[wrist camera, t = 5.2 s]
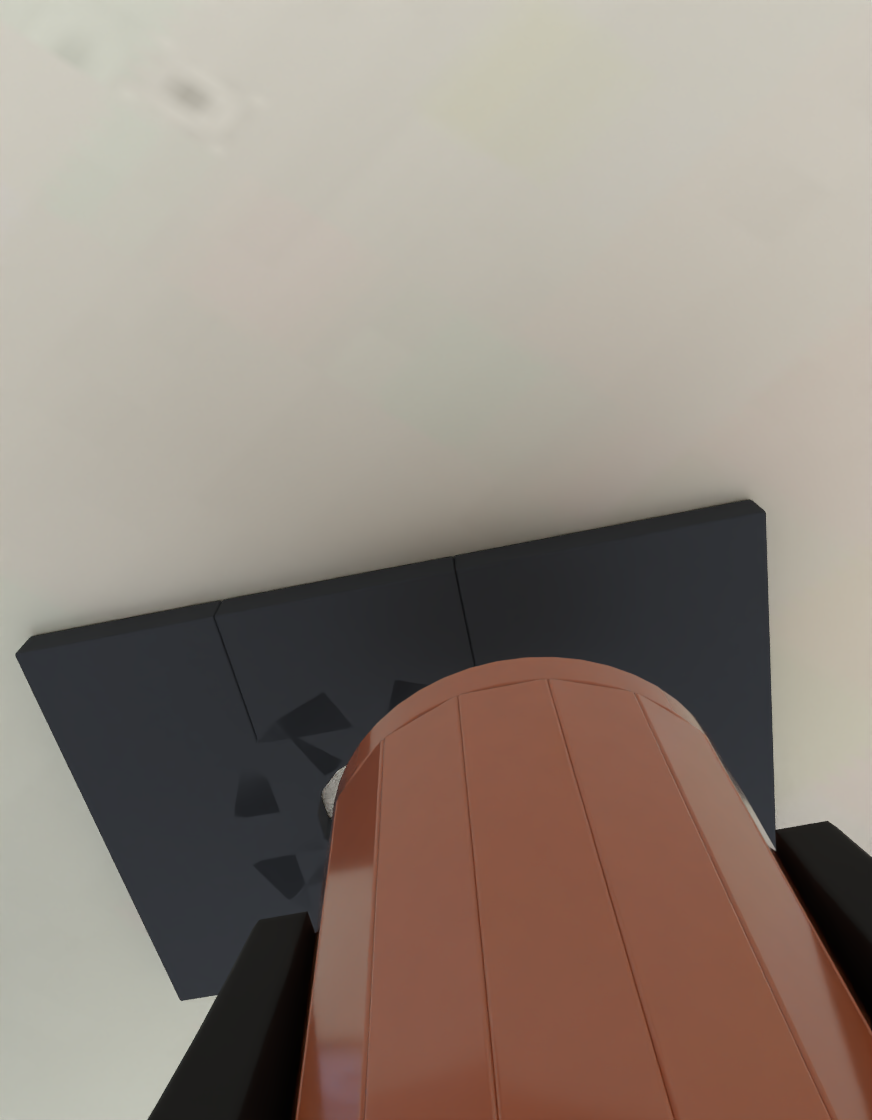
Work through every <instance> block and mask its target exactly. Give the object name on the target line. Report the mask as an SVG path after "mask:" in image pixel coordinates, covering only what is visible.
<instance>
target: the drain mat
mask: <svg viewBox="0 0 872 1120" xmlns="http://www.w3.org/2000/svg"><path fill="white" fill-rule="evenodd" d="M15 656H16V658H17V660H18V662H19V664H20V666H21V668H22V671H23V673H24V675H25V677H26V679H27V681H28V683H29V685H30V687H31V689H32V691H33V694H34V696H35V698H36V700H37V702H38V704H39V706H40V708H41V710H42V712H43V714H44V717H45V719H46V721H47V723H48V725H49V727H50V729H51V731H52V733H53V735H54V737H55V740H56V742H57V744H58V746H59V748H60V750H61V752H62V754H63V756H64V758H65V760H66V763H67V765H68V767H69V769H70V771H71V773H72V775H73V777H74V779H75V781H76V783H77V786H78V788H79V790H80V792H81V794H82V796H83V798H84V800H85V802H86V804H87V806H88V809H89V811H90V813H91V815H92V817H93V819H94V821H95V823H96V825H97V827H98V829H99V832H100V834H101V836H102V838H103V840H104V842H105V844H106V846H107V848H108V850H109V852H110V855H111V857H112V859H113V861H114V863H115V865H116V867H117V869H118V871H119V873H120V875H121V878H122V880H123V882H124V884H125V886H126V888H127V890H128V892H129V894H130V896H131V898H132V901H133V903H134V905H135V907H136V909H137V911H138V913H139V915H140V917H141V919H142V921H143V924H144V926H145V928H146V930H147V932H148V934H149V936H150V938H151V940H152V942H153V944H154V947H155V949H156V951H157V953H158V955H159V957H160V959H161V961H162V963H163V965H164V967H165V970H166V972H167V974H168V976H169V978H170V980H171V982H172V984H173V986H174V988H175V990H176V993H177V995H178V997H179V999H180V1000H181V1001H183V1000H189V999H195V998H202V997H208V996H214V995H218V994H219V992H220V990H221V988H222V986H223V984H224V982H225V981H226V979H227V977H228V975H229V973H230V971H231V969H232V967H233V965H234V963H235V962H236V960H237V958H238V956H239V954H240V952H241V950H242V948H243V946H244V944H245V942H246V940H247V939H248V937H249V935H250V933H251V931H252V929H253V927H254V926H255V925H256V923H257V922H258V921H259V920H260V919H266V918H272V917H278V916H283V915H289V914H295V913H301V912H306V911H307V912H308V914H309V917H310V920H311V923H312V925H313V928H314V931H315V933H316V925H317V918H318V910H319V903H320V895H321V888H322V880H323V873H324V865H325V859H326V853H327V848H328V842H329V837H330V831H331V823H332V820H331V819H330V818H329V817H328V816H327V813H326V810H325V807H324V804H323V801H322V797H321V795H322V790H323V789H324V787H325V786H326V785H327V783H328V782H329V781H330V780H331V778H332V777H333V776H334V774H335V773H336V772H337V770H339V769H340V768H342V767H344V766H346V765H347V764H348V762H349V760H350V758H351V757H352V755H353V754H354V752H355V750H356V749H357V747H358V746H359V744H360V743H361V741H362V740H363V739H364V738H365V736H366V735H367V734H368V733H369V732H370V731H371V730H372V728H373V727H374V726H375V725H376V724H377V723H378V722H379V721H380V720H381V719H382V718H383V717H384V716H385V715H387V714H388V713H389V712H390V711H391V710H392V709H393V708H394V707H396V706H397V705H398V704H399V703H401V702H402V701H404V700H405V699H407V698H408V697H410V696H411V695H413V694H414V693H416V692H417V691H419V690H420V689H422V688H424V687H426V686H428V685H430V684H432V683H434V682H436V681H438V680H440V679H442V678H444V677H446V676H449V675H452V674H454V673H457V672H460V671H462V670H465V669H468V668H471V667H475V666H479V665H483V664H487V663H491V662H495V661H501V660H508V659H516V658H523V657H562V658H572V659H582V660H586V661H591V662H595V663H600V664H604V665H609V666H611V667H614V668H617V669H620V670H623V671H626V672H628V673H631V674H634V675H636V676H638V677H640V678H642V679H644V680H646V681H648V682H650V683H652V684H654V685H656V686H657V687H659V688H660V689H662V690H663V691H665V692H666V693H667V694H669V695H670V696H672V697H673V698H675V699H676V700H677V701H678V702H679V703H681V704H682V705H683V706H684V707H685V708H686V709H687V710H688V711H689V712H690V713H691V714H692V715H693V716H694V717H695V718H696V719H697V721H698V722H699V723H700V725H701V726H702V727H703V729H704V730H705V731H706V732H707V734H708V735H709V737H710V739H711V741H712V742H713V744H714V746H715V748H716V749H717V751H718V753H719V755H720V756H721V758H722V760H723V762H724V763H725V765H726V766H727V768H728V770H729V771H730V773H731V774H732V776H733V777H734V779H735V780H736V782H737V783H738V785H739V786H740V788H741V790H742V791H743V793H744V795H745V797H746V798H747V800H748V802H749V804H750V806H751V807H752V809H753V811H754V813H755V814H756V816H757V818H758V820H759V821H760V823H761V825H762V827H763V828H764V830H765V832H766V834H767V835H768V837H769V839H770V841H771V842H772V844H773V846H774V848H775V849H776V835H775V799H774V766H773V734H772V701H771V669H770V637H769V604H768V572H767V540H766V513H765V511H764V510H763V509H762V508H760V507H759V506H758V505H757V504H756V503H755V502H754V501H752V500H745V501H740V502H735V503H729V504H724V505H719V506H714V507H708V508H703V509H698V510H693V511H688V512H682V513H677V514H672V515H667V516H661V517H656V518H651V519H646V520H640V521H635V522H630V523H625V524H620V525H614V526H609V527H604V528H599V529H593V530H588V531H583V532H578V533H572V534H567V535H562V536H557V537H552V538H546V539H541V540H536V541H531V542H525V543H520V544H515V545H510V546H504V547H499V548H494V549H489V550H483V551H478V552H473V553H468V554H463V555H457V556H455V557H454V558H453V557H446V558H441V559H436V560H430V561H425V562H420V563H415V564H409V565H404V566H399V567H394V568H389V569H383V570H378V571H373V572H368V573H362V574H357V575H352V576H347V577H341V578H336V579H331V580H326V581H321V582H315V583H310V584H305V585H300V586H294V587H289V588H284V589H279V590H273V591H268V592H263V593H258V594H252V595H247V596H242V597H237V598H232V599H226V600H223V601H222V602H221V601H215V602H210V603H205V604H200V605H194V606H189V607H184V608H179V609H173V610H168V611H163V612H158V613H153V614H147V615H142V616H137V617H132V618H126V619H121V620H116V621H111V622H105V623H100V624H95V625H90V626H85V627H79V628H74V629H69V630H64V631H58V632H53V633H48V634H43V635H37V636H32V637H30V638H29V639H28V640H27V641H26V643H25V644H24V645H23V646H22V647H21V648H20V649H19V650H18V651H17V653H16V654H15Z"/></svg>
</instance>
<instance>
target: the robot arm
mask: <svg viewBox="0 0 872 1120" xmlns="http://www.w3.org/2000/svg"><path fill="white" fill-rule="evenodd" d="M775 835H776V852H777V853H778V855H779V857H780V859H781V860H782V862H783V864H784V866H785V867H786V869H787V871H788V873H789V875H790V876H791V878H792V880H793V882H794V883H795V885H796V887H797V889H798V890H799V892H800V894H801V896H802V897H803V899H804V901H805V903H806V904H807V906H808V908H809V910H810V911H811V913H812V915H813V917H814V918H815V920H816V922H817V924H818V925H819V927H820V929H821V930H822V932H823V934H824V936H825V937H826V939H827V941H828V942H829V944H830V946H831V948H832V949H833V951H834V953H835V955H836V956H837V958H838V960H839V962H840V963H841V965H842V967H843V969H844V970H845V972H846V974H847V976H848V977H849V979H850V981H851V983H852V984H853V986H854V988H855V990H856V991H857V993H858V995H859V997H860V998H861V1000H862V1002H863V1004H864V1005H865V1007H866V1009H867V1011H868V1012H869V1014H870V1016H871V1018H872V857H871V856H870V855H868V854H867V853H866V852H865V851H864V850H863V849H861V848H860V847H859V846H858V845H857V844H856V843H854V842H853V841H852V840H851V839H850V838H849V837H847V836H846V835H845V834H844V833H843V832H842V831H841V830H839V829H838V828H837V827H836V826H834V825H833V824H831V823H830V822H828V821H825V822H819V823H813V824H807V825H801V826H796V827H790V828H784V829H778V830H775ZM314 941H315V931H314V928H313V925H312V923H311V920H310V917H309V914H308V912H307V911H306V912H301V913H295V914H289V915H283V916H278V917H272V918H266V919H260V920H259V921H258V922H257V923H256V925H255V926H254V927H253V929H252V931H251V933H250V935H249V937H248V939H247V940H246V942H245V944H244V946H243V948H242V950H241V952H240V954H239V956H238V958H237V960H236V962H235V963H234V965H233V967H232V969H231V971H230V973H229V975H228V977H227V979H226V981H225V982H224V984H223V986H222V988H221V990H220V992H219V994H218V996H217V998H216V999H215V1001H214V1003H213V1005H212V1007H211V1009H210V1010H209V1012H208V1014H207V1016H206V1018H205V1020H204V1022H203V1023H202V1025H201V1027H200V1029H199V1031H198V1033H197V1034H196V1036H195V1038H194V1040H193V1042H192V1043H191V1045H190V1047H189V1049H188V1050H187V1052H186V1054H185V1056H184V1057H183V1059H182V1061H181V1063H180V1064H179V1066H178V1068H177V1070H176V1071H175V1073H174V1075H173V1077H172V1078H171V1080H170V1082H169V1084H168V1085H167V1087H166V1089H165V1091H164V1092H163V1094H162V1096H161V1098H160V1099H159V1101H158V1103H157V1105H156V1106H155V1108H154V1110H153V1111H152V1113H151V1115H150V1116H149V1118H148V1120H291V1113H292V1105H293V1098H294V1090H295V1083H296V1075H297V1068H298V1060H299V1053H300V1045H301V1038H302V1030H303V1023H304V1015H305V1008H306V1001H307V993H308V986H309V978H310V971H311V963H312V956H313V948H314Z"/></svg>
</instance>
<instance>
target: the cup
mask: <svg viewBox="0 0 872 1120" xmlns="http://www.w3.org/2000/svg"><path fill="white" fill-rule="evenodd" d="M291 1120H872V1018H871V1016H870V1014H869V1012H868V1011H867V1009H866V1007H865V1005H864V1004H863V1002H862V1000H861V998H860V997H859V995H858V993H857V991H856V990H855V988H854V986H853V984H852V983H851V981H850V979H849V977H848V976H847V974H846V972H845V970H844V969H843V967H842V965H841V963H840V962H839V960H838V958H837V956H836V955H835V953H834V951H833V949H832V948H831V946H830V944H829V942H828V941H827V939H826V937H825V936H824V934H823V932H822V930H821V929H820V927H819V925H818V924H817V922H816V920H815V918H814V917H813V915H812V913H811V911H810V910H809V908H808V906H807V904H806V903H805V901H804V899H803V897H802V896H801V894H800V892H799V890H798V889H797V887H796V885H795V883H794V882H793V880H792V878H791V876H790V875H789V873H788V871H787V869H786V867H785V866H784V864H783V862H782V860H781V859H780V857H779V855H778V853H777V852H776V849H775V848H774V846H773V844H772V842H771V841H770V839H769V837H768V835H767V834H766V832H765V830H764V828H763V827H762V825H761V823H760V821H759V820H758V818H757V816H756V814H755V813H754V811H753V809H752V807H751V806H750V804H749V802H748V800H747V798H746V797H745V795H744V793H743V791H742V790H741V788H740V786H739V785H738V783H737V782H736V780H735V779H734V777H733V776H732V774H731V773H730V771H729V770H728V768H727V766H726V765H725V763H724V762H723V760H722V758H721V756H720V755H719V753H718V751H717V749H716V748H715V746H714V744H713V742H712V741H711V739H710V737H709V735H708V734H707V732H706V731H705V730H704V729H703V727H702V726H701V725H700V723H699V722H698V721H697V719H696V718H695V717H694V716H693V715H692V714H691V713H690V712H689V711H688V710H687V709H686V708H685V707H684V706H683V705H682V704H681V703H679V702H678V701H677V700H676V699H675V698H673V697H672V696H670V695H669V694H667V693H666V692H665V691H663V690H662V689H660V688H659V687H657V686H656V685H654V684H652V683H650V682H648V681H646V680H644V679H642V678H640V677H638V676H636V675H634V674H631V673H628V672H626V671H623V670H620V669H617V668H614V667H611V666H609V665H604V664H600V663H595V662H591V661H586V660H582V659H572V658H562V657H523V658H516V659H508V660H501V661H495V662H491V663H487V664H483V665H479V666H475V667H471V668H468V669H465V670H462V671H460V672H457V673H454V674H452V675H449V676H446V677H444V678H442V679H440V680H438V681H436V682H434V683H432V684H430V685H428V686H426V687H424V688H422V689H420V690H419V691H417V692H416V693H414V694H413V695H411V696H410V697H408V698H407V699H405V700H404V701H402V702H401V703H399V704H398V705H397V706H396V707H394V708H393V709H392V710H391V711H390V712H389V713H388V714H387V715H385V716H384V717H383V718H382V719H381V720H380V721H379V722H378V723H377V724H376V725H375V726H374V727H373V728H372V730H371V731H370V732H369V733H368V734H367V735H366V736H365V738H364V739H363V740H362V741H361V743H360V744H359V746H358V747H357V749H356V750H355V752H354V754H353V755H352V757H351V758H350V760H349V762H348V764H347V766H346V768H345V771H344V773H343V775H342V777H341V780H340V782H339V786H338V790H337V794H336V797H335V801H334V808H333V816H332V823H331V831H330V837H329V842H328V848H327V853H326V859H325V865H324V873H323V880H322V888H321V895H320V903H319V910H318V918H317V925H316V933H315V941H314V948H313V956H312V963H311V971H310V978H309V986H308V993H307V1001H306V1008H305V1015H304V1023H303V1030H302V1038H301V1045H300V1053H299V1060H298V1068H297V1075H296V1083H295V1090H294V1098H293V1105H292V1113H291Z"/></svg>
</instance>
